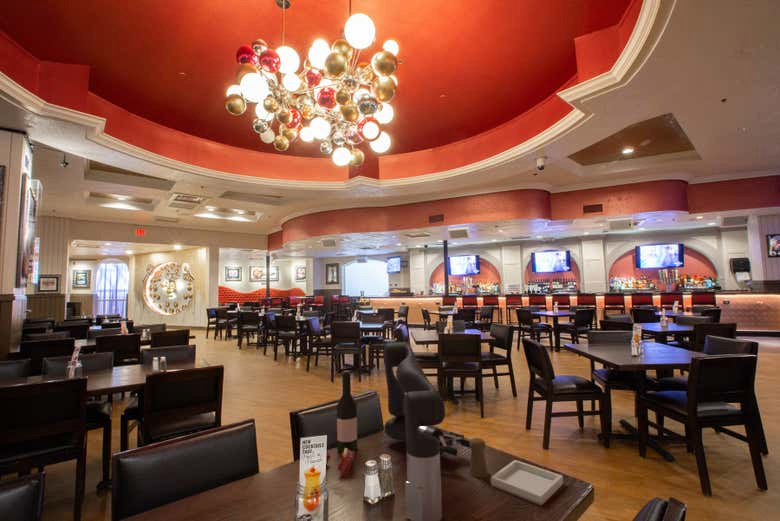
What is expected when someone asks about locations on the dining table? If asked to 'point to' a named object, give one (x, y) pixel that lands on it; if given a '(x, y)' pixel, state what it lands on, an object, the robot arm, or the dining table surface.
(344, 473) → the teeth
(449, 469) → the dining table surface
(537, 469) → the serving tray
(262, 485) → the dining table surface
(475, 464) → the cork
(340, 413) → the wine bottle
